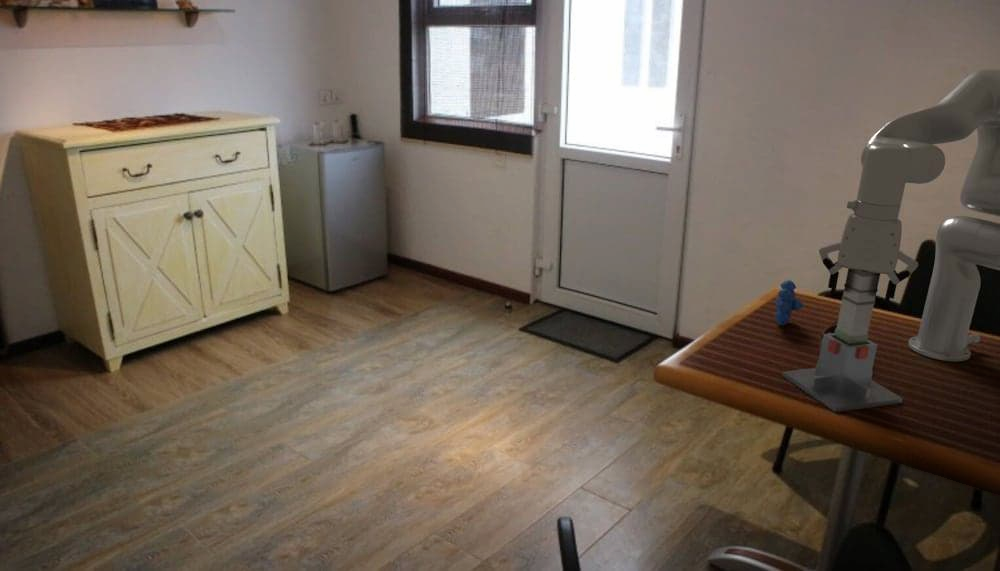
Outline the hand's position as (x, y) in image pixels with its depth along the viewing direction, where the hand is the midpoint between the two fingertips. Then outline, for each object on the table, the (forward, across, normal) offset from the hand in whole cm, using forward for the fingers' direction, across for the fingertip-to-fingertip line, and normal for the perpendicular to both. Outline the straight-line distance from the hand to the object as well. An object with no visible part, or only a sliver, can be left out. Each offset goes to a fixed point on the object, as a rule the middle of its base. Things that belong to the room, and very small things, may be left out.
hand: (859, 296), depth 146 cm
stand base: (+20, 0, 0) cm, 20 cm away
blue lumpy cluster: (+20, -15, +30) cm, 40 cm away
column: (+13, 0, 0) cm, 13 cm away
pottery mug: (+20, -2, +20) cm, 28 cm away
